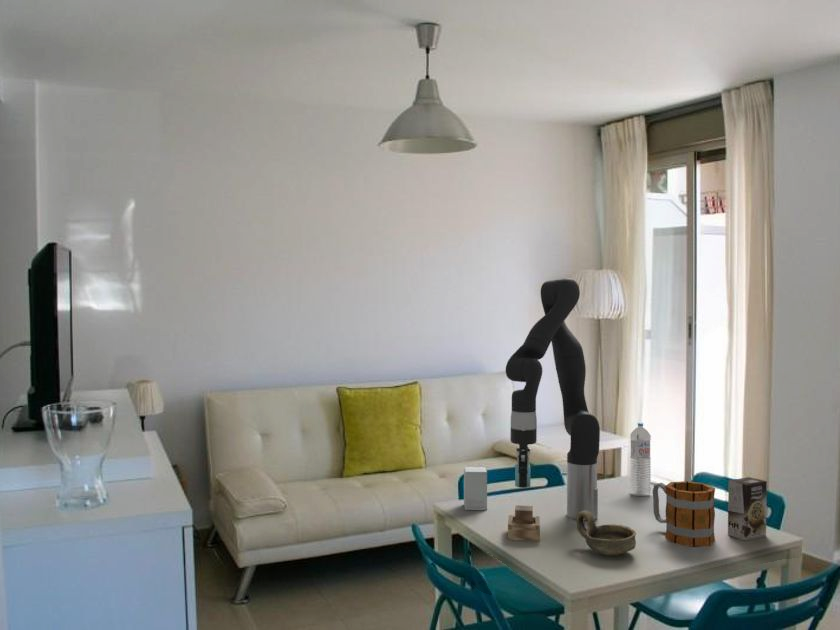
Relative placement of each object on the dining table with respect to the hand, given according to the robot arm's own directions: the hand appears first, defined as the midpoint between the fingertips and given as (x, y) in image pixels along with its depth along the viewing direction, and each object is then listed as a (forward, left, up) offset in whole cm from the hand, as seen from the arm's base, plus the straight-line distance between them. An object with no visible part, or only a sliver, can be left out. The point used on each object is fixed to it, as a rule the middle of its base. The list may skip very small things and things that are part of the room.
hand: (523, 484), depth 219 cm
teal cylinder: (0, 0, 0) cm, 0 cm away
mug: (-45, -5, -15) cm, 48 cm away
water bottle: (-40, -50, -15) cm, 66 cm away
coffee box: (-64, -8, -15) cm, 66 cm away
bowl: (-22, +11, -15) cm, 29 cm away
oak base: (0, 0, -15) cm, 15 cm away
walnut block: (0, 0, -12) cm, 12 cm away
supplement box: (+16, -27, -15) cm, 35 cm away
